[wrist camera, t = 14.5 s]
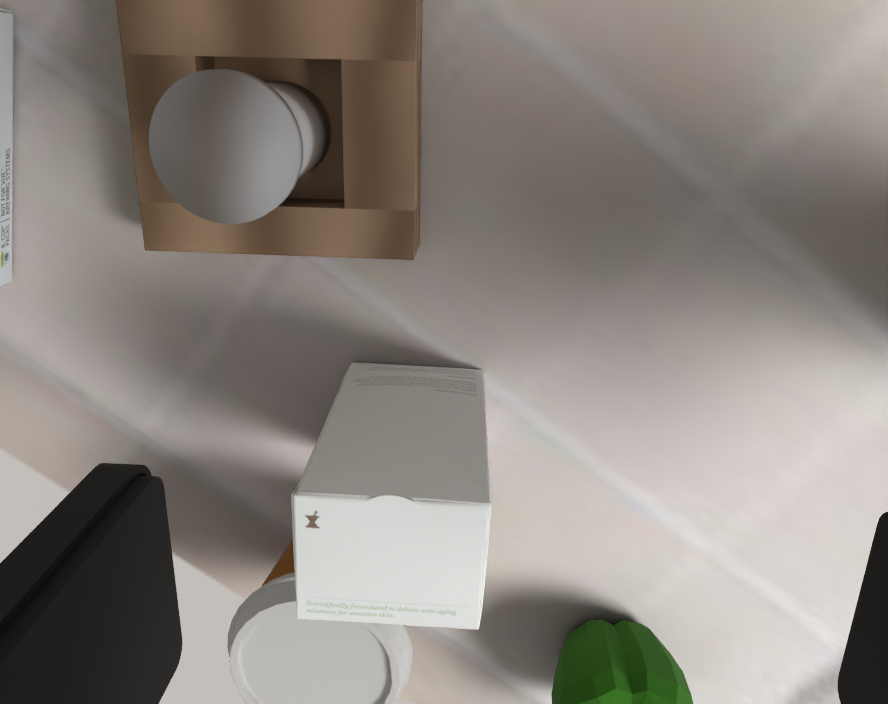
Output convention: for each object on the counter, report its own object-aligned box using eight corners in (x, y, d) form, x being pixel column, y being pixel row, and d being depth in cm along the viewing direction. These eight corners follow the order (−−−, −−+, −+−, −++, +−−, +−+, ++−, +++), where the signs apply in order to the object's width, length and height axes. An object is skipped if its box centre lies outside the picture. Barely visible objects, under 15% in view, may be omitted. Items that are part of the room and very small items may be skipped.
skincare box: (347, 453, 47) (284, 624, 33) (348, 352, 45) (281, 489, 30) (483, 463, 47) (480, 640, 32) (491, 362, 45) (492, 505, 30)
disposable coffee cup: (457, 523, 49) (448, 661, 37) (372, 619, 52) (339, 773, 40) (333, 440, 47) (285, 557, 36) (253, 543, 50) (184, 681, 39)
